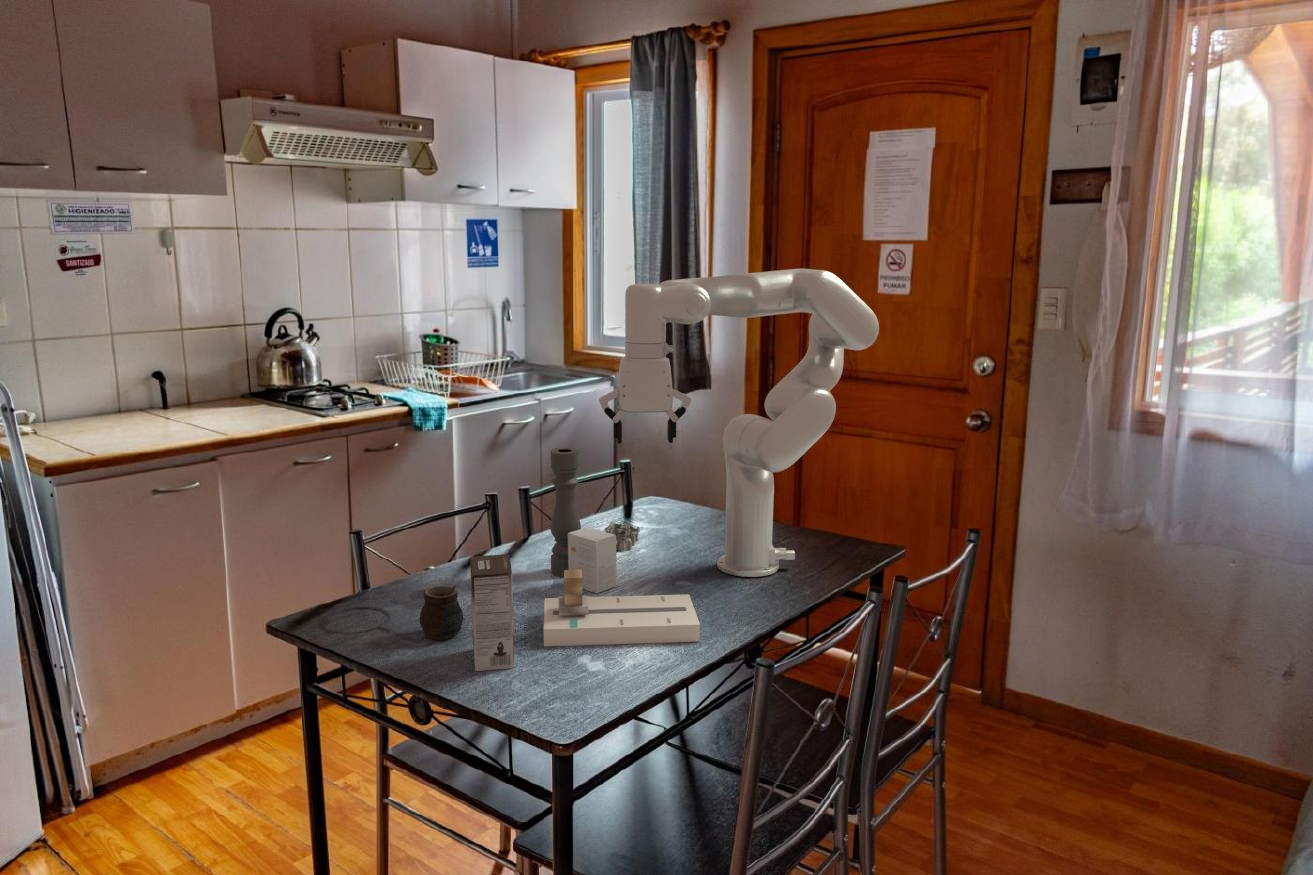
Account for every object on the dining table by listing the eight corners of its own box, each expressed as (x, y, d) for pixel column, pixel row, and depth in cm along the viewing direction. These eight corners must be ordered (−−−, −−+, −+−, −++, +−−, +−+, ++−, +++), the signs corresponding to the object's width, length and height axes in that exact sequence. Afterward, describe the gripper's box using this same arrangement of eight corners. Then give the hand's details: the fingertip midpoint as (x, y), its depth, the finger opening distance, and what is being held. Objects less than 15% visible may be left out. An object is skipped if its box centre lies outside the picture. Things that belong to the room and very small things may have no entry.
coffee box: (472, 648, 164) (469, 555, 160) (511, 645, 165) (509, 552, 162) (474, 672, 155) (471, 574, 152) (515, 669, 156) (513, 571, 153)
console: (688, 610, 181) (689, 593, 180) (699, 641, 167) (700, 624, 167) (544, 614, 178) (544, 597, 178) (543, 646, 165) (543, 628, 164)
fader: (587, 603, 174) (587, 568, 173) (588, 614, 169) (588, 578, 168) (558, 604, 173) (558, 569, 172) (558, 615, 169) (558, 579, 167)
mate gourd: (440, 623, 174) (439, 569, 172) (474, 633, 170) (473, 577, 168) (411, 637, 168) (409, 581, 166) (445, 647, 164) (444, 590, 162)
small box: (617, 587, 192) (617, 534, 190) (596, 594, 188) (596, 541, 186) (588, 577, 197) (588, 526, 195) (567, 584, 193) (567, 532, 191)
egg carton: (628, 554, 212) (628, 535, 211) (595, 550, 214) (595, 532, 213) (643, 539, 222) (643, 521, 221) (611, 536, 224) (611, 518, 223)
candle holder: (583, 567, 203) (583, 447, 198) (578, 577, 197) (577, 454, 192) (554, 566, 203) (552, 446, 198) (547, 576, 197) (545, 453, 192)
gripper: (689, 349, 189) (687, 437, 192) (597, 349, 187) (598, 438, 191) (694, 354, 181) (692, 445, 185) (599, 354, 180) (599, 446, 183)
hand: (644, 441), depth 188 cm, fingers open, 9 cm apart
